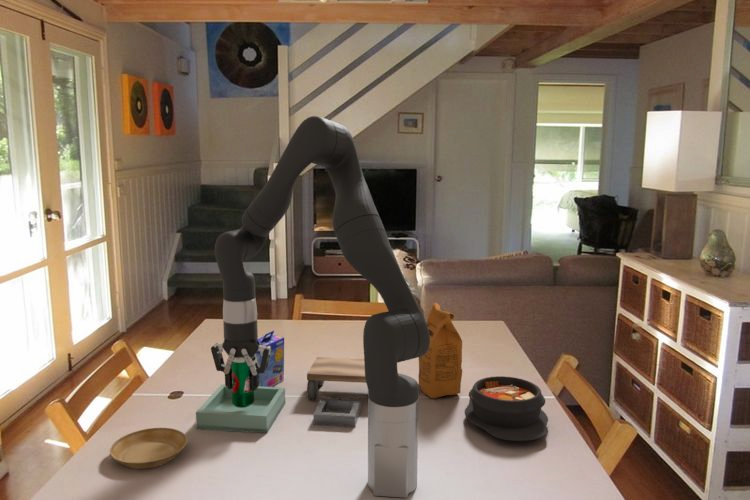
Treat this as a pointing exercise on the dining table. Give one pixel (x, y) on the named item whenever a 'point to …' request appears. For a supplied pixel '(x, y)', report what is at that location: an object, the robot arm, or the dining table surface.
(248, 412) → the tray
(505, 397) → the casserole
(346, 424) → the frame
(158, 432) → the plant saucer
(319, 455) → the dining table surface
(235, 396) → the soda can
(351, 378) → the trolley
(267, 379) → the ink cartridge box
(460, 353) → the coffee package
